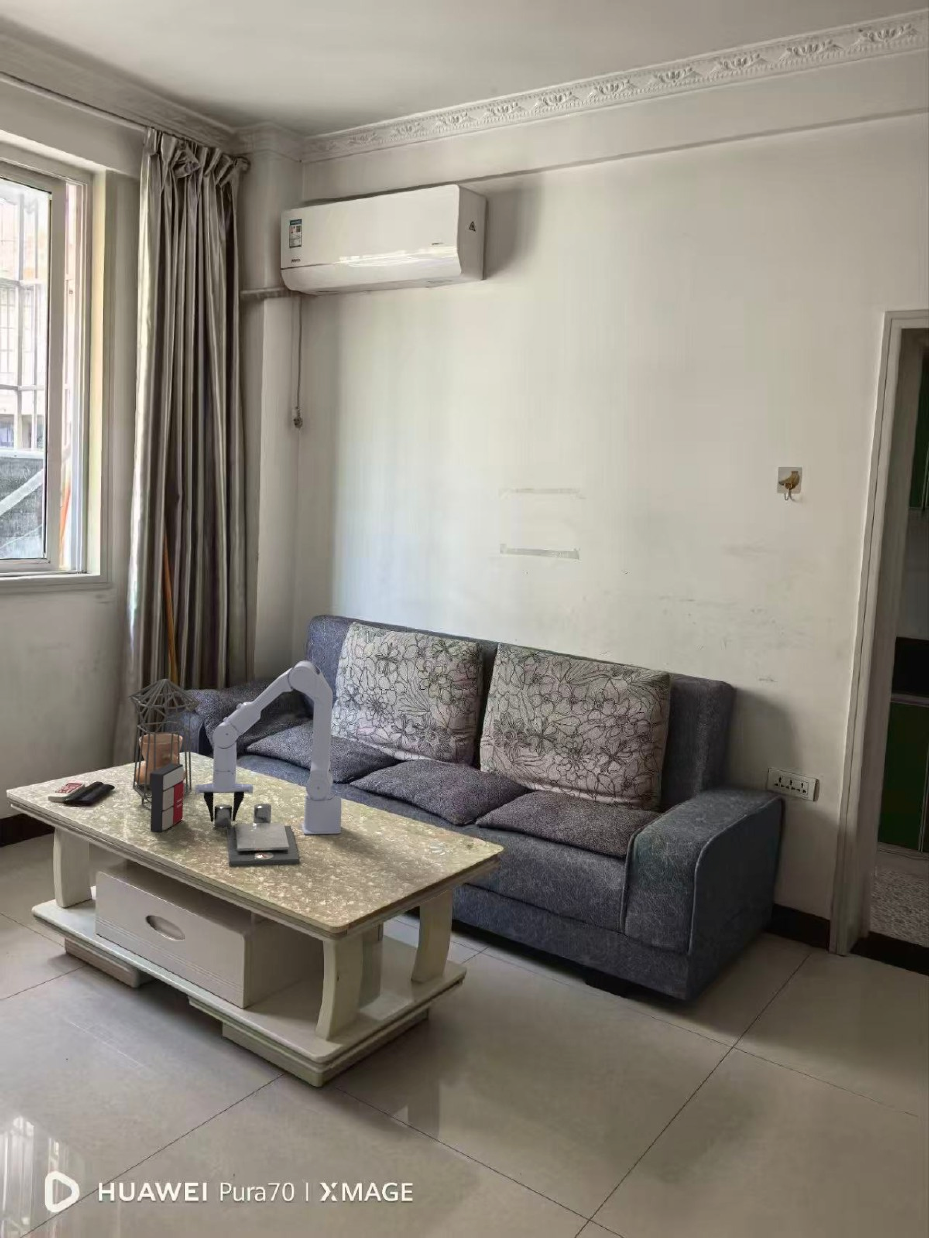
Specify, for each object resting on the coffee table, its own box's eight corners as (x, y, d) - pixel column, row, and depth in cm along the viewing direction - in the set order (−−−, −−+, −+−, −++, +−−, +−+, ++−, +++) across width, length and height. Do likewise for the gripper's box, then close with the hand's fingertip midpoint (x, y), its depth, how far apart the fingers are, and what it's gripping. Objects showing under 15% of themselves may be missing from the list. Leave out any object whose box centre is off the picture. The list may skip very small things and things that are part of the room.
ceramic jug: (124, 781, 290) (125, 734, 289) (171, 775, 299) (173, 729, 298) (147, 797, 276) (149, 748, 275) (197, 790, 286) (198, 742, 284)
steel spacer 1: (231, 822, 260) (231, 804, 260) (231, 828, 256) (232, 809, 256) (213, 822, 259) (214, 804, 259) (214, 828, 255) (214, 809, 254)
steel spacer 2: (270, 821, 263) (270, 803, 262) (271, 827, 259) (271, 808, 258) (253, 822, 262) (253, 803, 261) (253, 827, 258) (254, 808, 257)
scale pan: (283, 824, 256) (283, 822, 255) (288, 849, 238) (289, 846, 238) (235, 825, 252) (235, 823, 252) (237, 850, 235) (237, 848, 235)
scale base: (290, 830, 257) (290, 824, 257) (298, 863, 234) (299, 857, 234) (227, 831, 253) (227, 825, 253) (229, 866, 230) (229, 859, 230)
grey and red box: (163, 833, 249) (165, 774, 248) (147, 830, 250) (149, 772, 248) (184, 820, 260) (186, 764, 258) (169, 818, 261) (170, 762, 259)
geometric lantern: (178, 794, 281) (181, 672, 277) (200, 810, 269) (204, 682, 265) (122, 802, 271) (125, 675, 267) (142, 818, 259) (146, 686, 255)
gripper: (252, 764, 262) (250, 814, 263) (195, 764, 258) (194, 815, 260) (254, 771, 255) (252, 823, 256) (195, 772, 251) (193, 824, 253)
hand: (222, 820), depth 258 cm, fingers open, 5 cm apart
